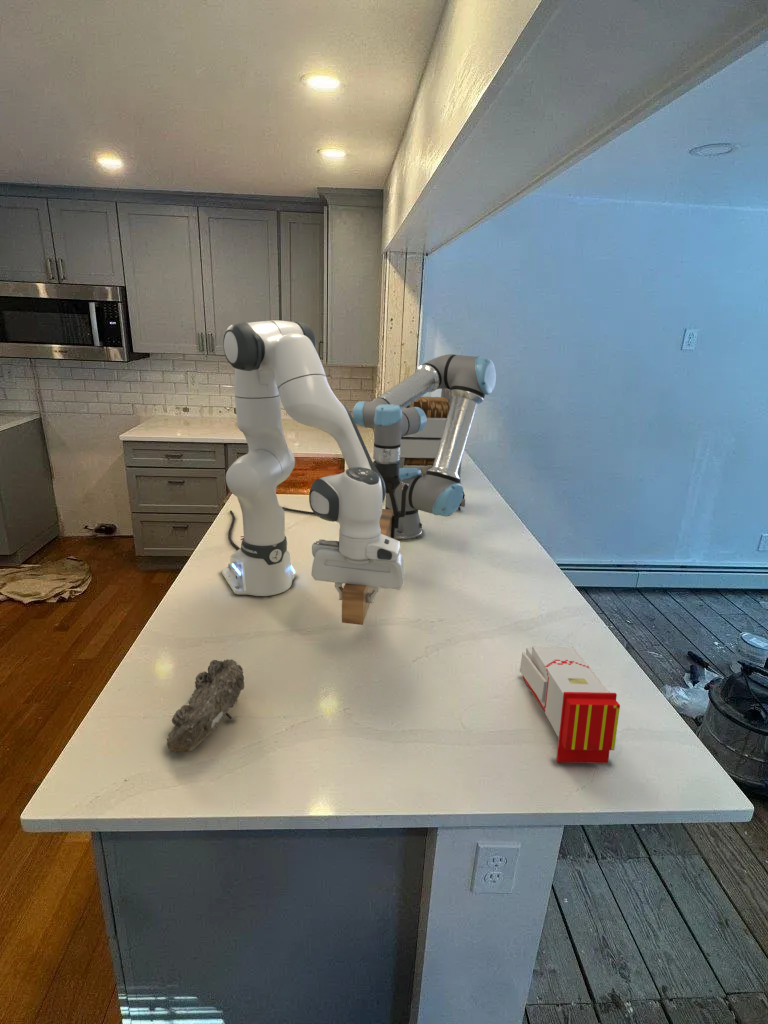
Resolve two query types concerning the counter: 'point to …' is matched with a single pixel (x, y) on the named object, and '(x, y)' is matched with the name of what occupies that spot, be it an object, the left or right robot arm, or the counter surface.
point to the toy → (572, 703)
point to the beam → (357, 594)
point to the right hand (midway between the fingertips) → (383, 537)
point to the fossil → (206, 705)
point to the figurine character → (462, 502)
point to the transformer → (426, 432)
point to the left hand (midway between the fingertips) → (356, 600)
